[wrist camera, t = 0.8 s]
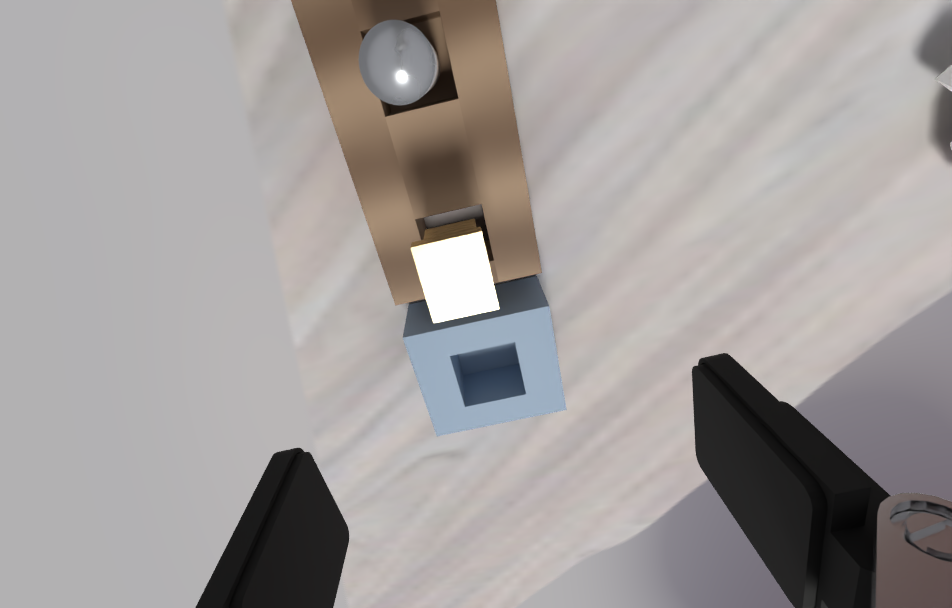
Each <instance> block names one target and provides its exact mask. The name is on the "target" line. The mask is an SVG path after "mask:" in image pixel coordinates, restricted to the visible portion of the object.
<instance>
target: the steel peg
mask: <svg viewBox="0 0 952 608" xmlns="http://www.w3.org/2000/svg"><path fill="white" fill-rule="evenodd" d="M359 68H360V72H361V75H362V78H363V80H364V82H365V84H366V86H367V87H368V89H369V90H370V91H371V92H372V93H373V94H374V95H375V96H376V97H377V98H379V99H380V100H382V101H384V102H386V103H389V104H393V105H407V104H410V103H413V102H415V101H417V100H418V99H420V98H421V97H422V96H424V95H425V94H426V93H427V92H428V91H430V90H431V89H432V88H433V87H434V86H435V84H436V83H437V81H438V79H439V76H440V60H439V57H438V54H437V52H436V51H435V49H434V48H433V46H432V45H431V44H430V42H429V41H428V40H427V38H426V37H425V36H424V34H423V33H422V32H421V31H420V30H419V29H417V28H416V27H415V26H413V25H412V24H410V23H407V22H405V21H401V20H387V21H383V22H381V23H379V24H377V25H375V26H374V27H373V28H371V29H370V30H369V31H368V33H367V34H366V35H365V37H364V39H363V41H362V43H361V46H360V50H359Z"/></svg>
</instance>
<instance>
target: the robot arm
mask: <svg viewBox="0 0 952 608" xmlns="http://www.w3.org/2000/svg"><path fill="white" fill-rule="evenodd" d="M692 382H693V404H694V426H695V448H696V456H697V460H698V463H699V465H700V467H701V469H702V470H703V472H704V473H705V475H706V476H707V478H708V479H709V481H710V482H711V484H712V485H713V487H714V488H715V490H716V491H717V493H718V494H719V496H720V497H721V499H722V500H723V502H724V503H725V505H726V506H727V508H728V509H729V511H730V512H731V514H732V515H733V517H734V518H735V520H736V521H737V523H738V524H739V526H740V527H741V529H742V530H743V532H744V533H745V535H746V536H747V538H748V539H749V541H750V542H751V544H752V545H753V547H754V548H755V550H756V551H757V553H758V554H759V556H760V557H761V558H762V560H763V561H764V563H765V565H766V566H767V568H768V569H769V571H770V572H771V574H772V575H773V576H774V578H775V580H776V581H777V583H778V584H779V585H780V587H781V589H782V590H783V591H784V593H785V595H786V596H787V598H788V599H789V601H790V602H791V603H792V604H793V606H794V607H795V608H952V502H951V501H948V500H945V499H942V498H939V497H936V496H932V495H926V494H920V493H900V494H897V495H893V496H890V495H889V494H888V493H887V492H886V491H885V490H883V488H881V487H880V486H879V485H878V484H877V483H876V482H875V481H874V480H873V479H872V478H870V477H869V476H868V475H867V474H866V473H865V472H864V471H863V470H862V469H861V468H859V467H858V466H857V465H856V464H855V463H854V462H853V461H852V460H851V459H849V458H848V457H847V456H846V455H845V454H844V453H843V452H842V451H841V450H839V448H837V447H836V446H835V445H834V444H833V443H832V442H831V441H830V440H829V439H827V438H826V437H825V436H824V435H823V434H822V433H821V432H820V431H819V430H818V429H817V428H815V427H814V426H813V425H812V424H811V423H810V422H809V421H808V420H807V419H805V418H804V417H803V416H802V415H801V414H800V413H799V412H798V411H797V410H796V409H795V408H794V407H792V406H791V405H789V404H788V403H786V402H782V401H781V402H779V401H778V400H777V399H776V398H775V397H774V396H773V395H772V394H771V393H770V392H769V391H768V390H767V389H765V388H764V387H763V386H762V385H761V384H760V383H759V382H758V381H757V380H756V379H755V378H754V377H753V376H752V375H750V374H749V373H748V372H747V371H746V370H745V369H744V368H743V367H742V366H741V365H740V364H739V363H738V362H736V361H735V360H734V359H733V358H732V357H731V356H730V355H728V354H727V353H723V354H718V355H714V356H709V357H705V358H701V359H700V360H699V363H698V366H694V367H693V369H692ZM348 543H349V530H348V527H347V524H346V522H345V520H344V518H343V516H342V514H341V512H340V510H339V508H338V506H337V504H336V502H335V500H334V499H333V497H332V495H331V493H330V491H329V489H328V487H327V485H326V483H325V481H324V479H323V477H322V475H321V473H320V471H319V469H318V467H317V465H316V463H315V461H314V459H313V457H312V455H311V454H310V453H309V452H304V451H303V450H302V449H301V448H294V449H290V450H285V451H281V452H277V453H275V454H274V455H273V456H272V458H271V460H270V462H269V464H268V466H267V468H266V470H265V472H264V474H263V476H262V478H261V480H260V482H259V484H258V485H257V488H256V489H255V491H254V493H253V496H252V497H251V500H250V501H249V503H248V505H247V507H246V509H245V511H244V513H243V515H242V517H241V519H240V521H239V523H238V525H237V527H236V529H235V531H234V533H233V535H232V537H231V539H230V541H229V543H228V545H227V547H226V549H225V551H224V553H223V554H222V556H221V558H220V560H219V562H218V564H217V566H216V568H215V570H214V572H213V574H212V576H211V578H210V580H209V582H208V584H207V586H206V588H205V590H204V592H203V594H202V596H201V598H200V600H199V602H198V604H197V606H196V608H333V606H334V602H335V598H336V594H337V589H338V585H339V581H340V577H341V573H342V568H343V564H344V560H345V556H346V552H347V547H348Z"/></svg>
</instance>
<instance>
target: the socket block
mask: <svg viewBox="0 0 952 608" xmlns="http://www.w3.org/2000/svg"><path fill="white" fill-rule="evenodd" d="M291 2H292V5H293V8H294V10H295V13H296V16H297V19H298V22H299V25H300V28H301V31H302V34H303V37H304V40H305V43H306V45H307V48H308V51H309V54H310V57H311V60H312V63H313V66H314V69H315V72H316V75H317V78H318V80H319V83H320V86H321V89H322V92H323V95H324V98H325V101H326V104H327V107H328V110H329V113H330V115H331V118H332V121H333V124H334V127H335V130H336V133H337V136H338V139H339V142H340V145H341V148H342V150H343V153H344V156H345V159H346V162H347V165H348V168H349V171H350V174H351V177H352V180H353V183H354V185H355V188H356V191H357V194H358V197H359V200H360V203H361V206H362V209H363V212H364V215H365V218H366V221H367V223H368V226H369V229H370V232H371V235H372V238H373V241H374V244H375V247H376V250H377V253H378V256H379V258H380V261H381V264H382V267H383V270H384V273H385V276H386V279H387V282H388V285H389V288H390V291H391V293H392V296H393V299H394V302H395V305H399V304H404V303H408V302H413V301H417V300H422V299H426V297H425V294H424V290H423V287H422V284H421V281H420V277H419V274H418V271H417V268H416V264H415V261H414V258H413V254H412V251H411V248H410V247H411V243H412V242H415V241H420V240H424V234H425V230H426V225H425V222H424V218H423V217H427V216H432V215H436V214H440V213H445V212H449V211H453V210H458V209H462V208H466V207H470V206H475V205H479V204H482V208H483V213H484V217H485V222H486V227H487V231H488V236H489V240H488V241H484V243H485V248H486V252H487V256H488V261H489V265H490V270H491V274H492V279H493V283H498V282H503V281H507V280H512V279H516V278H521V277H525V276H530V275H534V274H539V273H542V271H541V265H540V259H539V253H538V247H537V241H536V235H535V229H534V224H533V218H532V212H531V206H530V200H529V194H528V188H527V182H526V176H525V171H524V165H523V159H522V153H521V147H520V141H519V135H518V129H517V123H516V117H515V112H514V106H513V100H512V94H511V88H510V82H509V76H508V70H507V64H506V58H505V53H504V47H503V41H502V35H501V29H500V23H499V17H498V11H497V5H496V0H291ZM387 20H401V21H405V22H407V23H410V24H412V25H413V26H415V27H416V28H417V29H419V30H420V31H421V32H422V33H423V34H424V36H425V37H426V38H427V40H428V41H429V42H430V44H431V45H432V46H433V48H434V49H435V51H436V52H437V54H438V57H439V60H440V76H439V79H438V81H437V83H436V84H435V86H434V87H433V88H432V89H431V90H430V91H428V92H427V93H426V94H425V95H424V96H422V97H421V98H420V99H418V100H417V101H415V102H413V103H410V104H407V105H393V104H389V103H386V102H384V101H382V100H380V99H379V98H377V97H376V96H375V95H374V94H373V93H372V92H371V91H370V90H369V89H368V87H367V86H366V84H365V82H364V80H363V78H362V75H361V72H360V68H359V50H360V46H361V43H362V41H363V39H364V37H365V35H366V34H367V33H368V31H369V30H370V29H371V28H373V27H374V26H375V25H377V24H379V23H381V22H383V21H387Z"/></svg>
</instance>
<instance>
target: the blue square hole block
mask: <svg viewBox="0 0 952 608" xmlns="http://www.w3.org/2000/svg"><path fill="white" fill-rule="evenodd" d="M494 287H495V292H496V296H497V301H498V306H499V309H497V310H492V311H487V312H483V313H478V314H474V315H469V316H465V317H460V318H455V319H451V320H446V321H442V322H437V323H433V320H432V317H431V313H430V310H429V307H428V304H427V300H426V301H421V302H417V303H412V304H409V307H408V312H407V318H406V323H405V328H404V334H403V340H404V343H405V346H406V349H407V351H408V354H409V357H410V360H411V363H412V366H413V369H414V372H415V374H416V377H417V380H418V383H419V386H420V389H421V392H422V395H423V398H424V400H425V403H426V406H427V409H428V412H429V415H430V418H431V421H432V423H433V426H434V429H435V432H436V435H437V436H441V435H446V434H451V433H455V432H460V431H465V430H470V429H475V428H480V427H485V426H490V425H495V424H499V423H504V422H509V421H514V420H519V419H524V418H529V417H534V416H539V415H544V414H548V413H553V412H558V411H563V410H566V404H565V398H564V392H563V386H562V380H561V374H560V368H559V362H558V356H557V350H556V344H555V338H554V332H553V326H552V320H551V314H550V308H549V304H548V302H547V300H546V297H545V295H544V292H543V290H542V288H541V285H540V283H539V280H538V278H537V276H534V277H529V278H525V279H520V280H516V281H511V282H507V283H502V284H498V285H494Z"/></svg>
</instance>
